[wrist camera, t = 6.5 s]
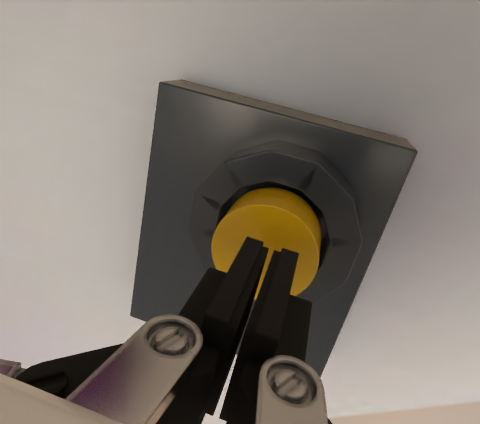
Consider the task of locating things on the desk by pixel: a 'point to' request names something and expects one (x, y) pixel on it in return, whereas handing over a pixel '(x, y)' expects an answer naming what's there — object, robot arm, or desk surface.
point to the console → (254, 177)
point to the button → (271, 232)
